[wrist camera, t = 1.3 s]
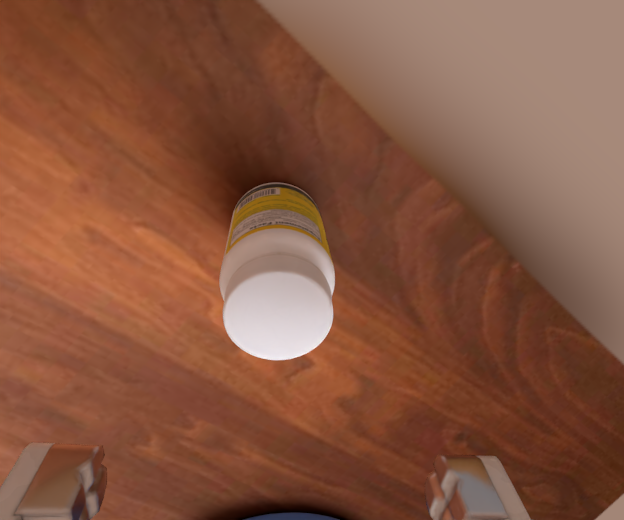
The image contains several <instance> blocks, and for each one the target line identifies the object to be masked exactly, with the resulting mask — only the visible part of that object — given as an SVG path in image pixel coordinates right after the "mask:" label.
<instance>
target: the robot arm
mask: <svg viewBox="0 0 624 520" xmlns="http://www.w3.org/2000/svg"><path fill="white" fill-rule="evenodd" d="M104 455H105V454H104V449H103V446H100V445H80V444H60V443H36V442H31V443H30V444H29V445H28V446H27V447H26V448H25V449H24V450H23V451H22V453H21V455H20V456H19V458H18V460H17V461H16V463H15V465H14V466H13V468H12V470H11V471H10V473H9V474H8V476H7V478H6V479H5V481H4V483H3V484H2V486H1V488H0V520H90V519H91V518H92V517H93V516H94V515H96V514H97V513H98V512H99V509H100V507H101V504H102V501H103V498H104V493H105V489H106V484H107V469H106V467H105V466H104V465H102V464H101V463H102V461H103V458H104ZM433 465H434V468H435V471H433V472H432V473H430V474H429V475H428V477H427V479H426V482H425V500H426V505H427V509H428V512H429V515H430V516H431V517H432V518H433V519H434V520H532V519H530V517H529V515H528V513H527V511H526V509H525V507H524V506H523V504H522V502H521V500H520V498H519V496H518V494H517V492H516V490H515V488H514V487H513V485H512V483H511V481H510V479H509V477H508V475H507V473H506V471H505V470H504V468H503V466H502V464H501V462H500V460H499V459H498V458H497V457H496V456H475V455H438V456H437V457H436V458H435V460H434V462H433Z"/></svg>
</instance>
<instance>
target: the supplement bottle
mask: <svg viewBox="0 0 624 520" xmlns="http://www.w3.org/2000/svg"><path fill="white" fill-rule="evenodd" d="M219 283H220V290H221V294H222V297H223V300H224V306H223V322H224V326H225V329H226V332H227V333H228V335H229V337H230V338H231V339H232V341H233V342H234V343H235V344H236V345H237V346H238V347H239V348H241V349H242V350H244V351H245V352H247V353H249V354H251V355H253V356H256V357H259V358H263V359H268V360H287V359H292V358H296V357H299V356H301V355H304V354H306V353H308V352H310V351H311V350H313V349H314V348H316V347H317V346H318V345H319V344H320V343H321V342H322V341H323V340H324V339H325V337H326V336H327V334H328V332H329V330H330V328H331V325H332V321H333V305H332V294H333V291H334V286H335V272H334V266H333V262H332V259H331V255H330V251H329V247H328V242H327V238H326V234H325V231H324V227H323V222H322V218H321V215H320V212H319V209H318V207H317V205H316V203H315V202H314V201H313V199H312V198H311V197H310V196H309V195H308V194H307V193H306V192H305V191H303V190H301V189H300V188H298V187H296V186H293V185H290V184H286V183H277V182H274V183H266V184H262V185H259V186H257V187H255V188H253V189H251V190H250V191H248V192H247V193H246V194H245V195H244V196H243V197H242V198H241V199H240V200H239V202H238V203H237V205H236V207H235V209H234V211H233V215H232V220H231V225H230V230H229V234H228V239H227V244H226V249H225V253H224V258H223V262H222V267H221V271H220V278H219Z"/></svg>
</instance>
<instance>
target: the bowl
mask: <svg viewBox="0 0 624 520" xmlns="http://www.w3.org/2000/svg"><path fill="white" fill-rule="evenodd" d="M244 520H339V519H336V518H333V517H329V516H324V515H319V514H311V513H297V512H290V513H273V514H266V515H260V516H255V517H251V518H247V519H244Z"/></svg>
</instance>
